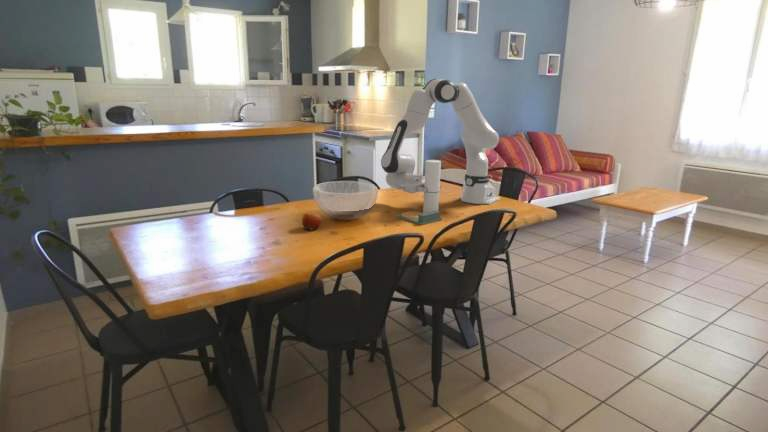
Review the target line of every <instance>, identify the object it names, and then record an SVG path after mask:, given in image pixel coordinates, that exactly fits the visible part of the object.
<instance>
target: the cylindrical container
mask: <svg viewBox="0 0 768 432" xmlns="http://www.w3.org/2000/svg"><path fill="white" fill-rule="evenodd" d="M424 165H425V166H424V167H425V169H424V176H425V183H424V187H425V188H427V189H428V190H427V192H423V204H422V205H423V208H422V212H423V213H427V212H431V211H439V208H440V207H439V206H440V204H439V202H440V190H441V189H440V188H439V187H440V185H441V172H442V171H441V169H442V161H441V160H439V159H426V160H425V164H424Z"/></svg>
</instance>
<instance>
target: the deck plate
mask: <svg viewBox="0 0 768 432" xmlns="http://www.w3.org/2000/svg"><path fill="white" fill-rule="evenodd" d="M395 218H397V219H400V220H404V221H408V222H410V223H414V224H416V225H420V226H424V225H427V224H431V223H436V222H439V221H441V220H442V217H441V211H439V210H438V211H431V212H427V213H423V211H418V210H413V211H412V210H411V211H405V212H402V213H399V214H396V215H395Z"/></svg>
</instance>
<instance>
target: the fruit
mask: <svg viewBox="0 0 768 432" xmlns="http://www.w3.org/2000/svg"><path fill="white" fill-rule="evenodd" d="M301 219H302V220H301V222H302V226H303V229H304V230H310V231H311V232H312V231H313V230H317V229H319V226H320V225H321V224H322V221H323V219H322V217H321V215H319V214H316V213H315V212H306V213H304V214H303V215H302V218H301Z"/></svg>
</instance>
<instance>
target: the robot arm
mask: <svg viewBox="0 0 768 432" xmlns="http://www.w3.org/2000/svg"><path fill="white" fill-rule="evenodd" d="M435 103H439V104H440V103H441V104H448V103H450V104H451V106H452V108H453V110H454V113H455V114H456V116H457V119H458V120H459V123H460V124H461V125H462V126H463V127H464V129H462V131H461V133H460V134H461V135H460V136H461V137H460V138H461V141H462V143H463V144H464V149H465V157H466V168H465V175H464V183H463V184H462V190H461V195H460V196H459V198H460V200H461V202H464V203H467V204H468V203H469V204H475V205H490V204H493V203H495V202H498V201H499V200H501V198H500V197H499V196H497V195H496V194H497V189H496V188H495V187H494V186H493V185H492V184H491V183H490V180H492V178H493V176H492V175H491V174H488V173H489V159H488V157H487V155H486V151H487V150H493V149H495V148H497V146H498V145H499V142H500V136H499V133H498V132H497V131H496V130H495V129H493V127H492V126H491V125H490V123H489V122H488V120H486V118H485V117H484V115H483V113H482V112H481V110H480V108H479V106H478V104H477V101H476V99H475V97H474V95H473V93H472V92H471V90H470V88H469V86H468V85H467V84H466V83H464V82H457V83H454V82H452V81H451V80H448V79H445V78H434V79H430V80H429V81H428V82H427V83H426V84H425V85H424V87H422V88H418V89H416V90H414V91H413V92H412V94H411V96H410V99H409V101H408V104H407V107H406V111H405V113H404V116H402V119H401V120H400V121H398V123H397V124H396V126H395V128H394V131H393V133H392V135H391V138H390V141H389V143H388V146H387V148H386V150H385V151H384V154H383V155H382V157H381V160H380V164H381V165H380V166H381V168H382V169H383V171H384V172H385V173H387V174H386V176H385V181H386V183H387V185H388V186H389V187H391V188H392V189H395V190H399V191H403V192H405V193H408V194H415V193H419V192H423V193H424V192H427V190H428V189H427V188H425V187H424V183H425V175H418V174H417V175H416V174H414V171H415V167H416V163H415V162H416V161H415V159H414V157H413V156H412V155H411V154H405V153H400V150H401V147H402V145H403V142H404V140H405V138H406V137H407V136H408V135H410V134H412V133H414V132H415V133H416V132H418V131H420V130H422V129H423V128H425V126H426V124H427V122H428V119H429V114H430V110H431V108H432V106H433V105H434V104H435ZM439 188H440V189H439V190H441V189H442V185H441V184H440V187H439Z"/></svg>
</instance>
